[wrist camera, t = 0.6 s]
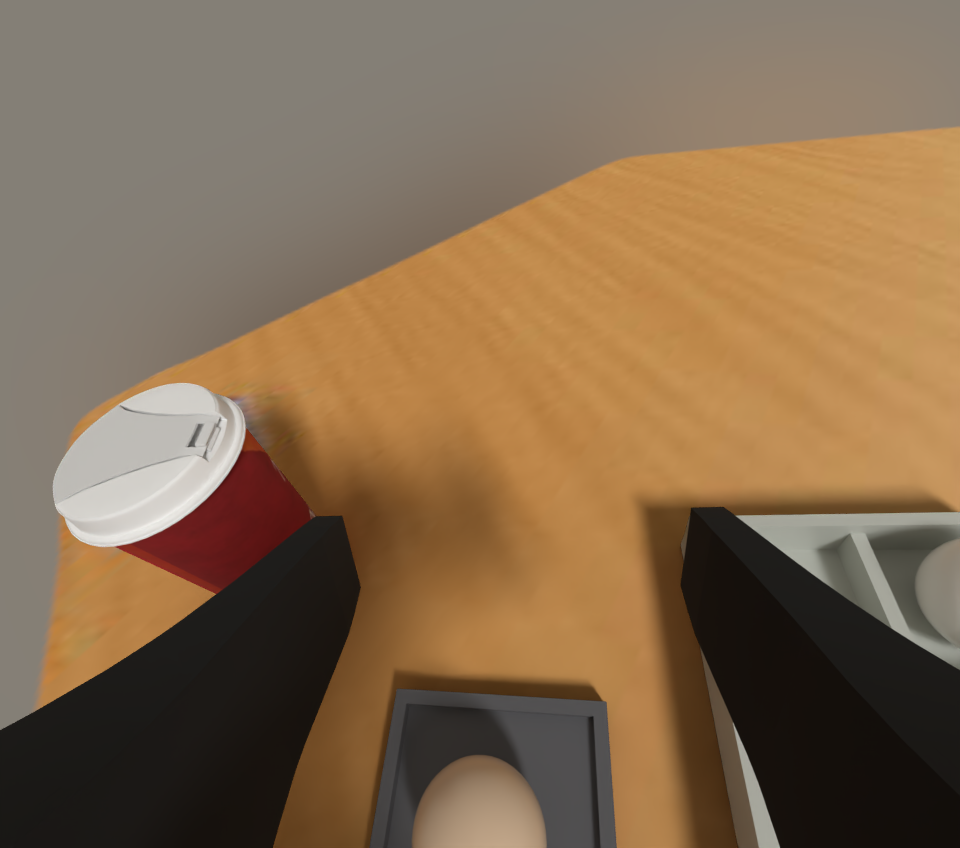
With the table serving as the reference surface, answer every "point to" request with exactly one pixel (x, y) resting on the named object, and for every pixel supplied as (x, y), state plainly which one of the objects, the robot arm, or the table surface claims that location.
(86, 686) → the robot arm
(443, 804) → the beige ball
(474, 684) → the table surface
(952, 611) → the white egg
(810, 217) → the table surface
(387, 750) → the coaster
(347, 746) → the table surface
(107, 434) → the paper cup
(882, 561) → the tray
